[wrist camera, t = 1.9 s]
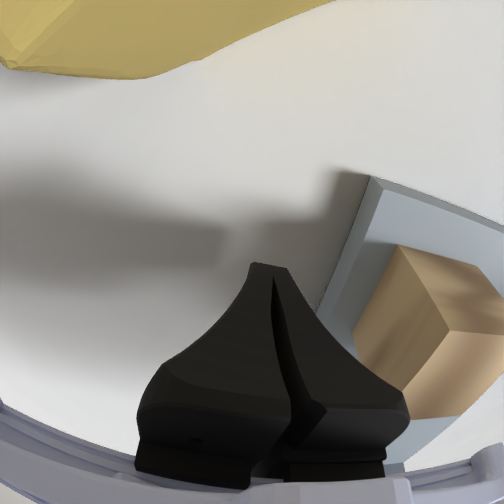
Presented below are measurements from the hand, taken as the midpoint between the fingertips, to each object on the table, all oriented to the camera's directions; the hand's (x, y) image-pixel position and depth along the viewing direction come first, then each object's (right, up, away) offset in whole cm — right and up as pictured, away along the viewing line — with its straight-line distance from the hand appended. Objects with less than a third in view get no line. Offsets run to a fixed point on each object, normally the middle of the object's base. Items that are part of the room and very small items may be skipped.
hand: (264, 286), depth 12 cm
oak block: (+7, -1, +1) cm, 7 cm away
